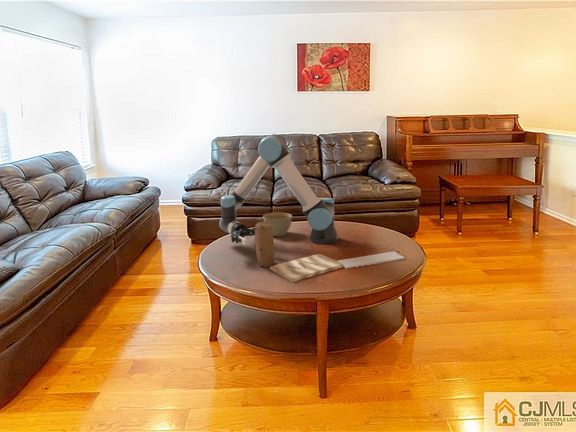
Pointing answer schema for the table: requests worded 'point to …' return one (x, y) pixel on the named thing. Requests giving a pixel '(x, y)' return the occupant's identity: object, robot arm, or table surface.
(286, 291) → the table surface
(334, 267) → the board
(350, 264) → the baseboard
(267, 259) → the block
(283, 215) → the planter bowl
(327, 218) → the robot arm
